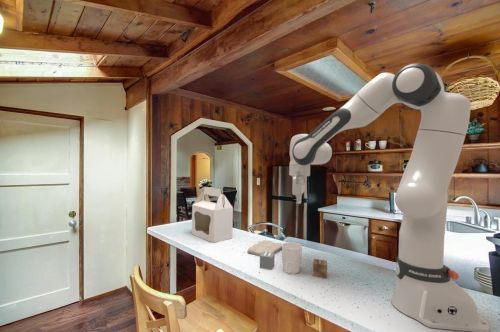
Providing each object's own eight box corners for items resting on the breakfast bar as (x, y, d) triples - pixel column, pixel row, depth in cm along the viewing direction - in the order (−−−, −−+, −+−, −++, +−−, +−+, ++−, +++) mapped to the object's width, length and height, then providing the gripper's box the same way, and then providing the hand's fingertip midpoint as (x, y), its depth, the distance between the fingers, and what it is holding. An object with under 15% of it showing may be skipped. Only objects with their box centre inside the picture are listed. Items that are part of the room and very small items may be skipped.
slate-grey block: (274, 265, 103) (274, 252, 103) (271, 270, 98) (271, 257, 98) (262, 263, 104) (263, 251, 104) (259, 268, 100) (259, 255, 100)
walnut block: (326, 273, 96) (326, 259, 96) (326, 278, 92) (326, 264, 92) (313, 271, 98) (313, 258, 98) (312, 276, 93) (313, 263, 93)
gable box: (232, 238, 138) (233, 188, 137) (213, 243, 128) (214, 190, 128) (209, 230, 154) (210, 185, 153) (191, 234, 144) (192, 186, 144)
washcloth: (285, 248, 124) (285, 242, 124) (269, 260, 109) (269, 253, 109) (264, 244, 131) (264, 238, 130) (246, 254, 115) (246, 248, 115)
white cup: (301, 275, 94) (302, 249, 93) (280, 273, 95) (281, 247, 95) (301, 267, 101) (301, 243, 101) (282, 265, 103) (282, 241, 103)
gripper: (305, 172, 96) (304, 207, 96) (308, 171, 115) (307, 200, 115) (288, 172, 97) (288, 206, 98) (294, 171, 117) (294, 199, 117)
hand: (298, 203), depth 107 cm, fingers closed
